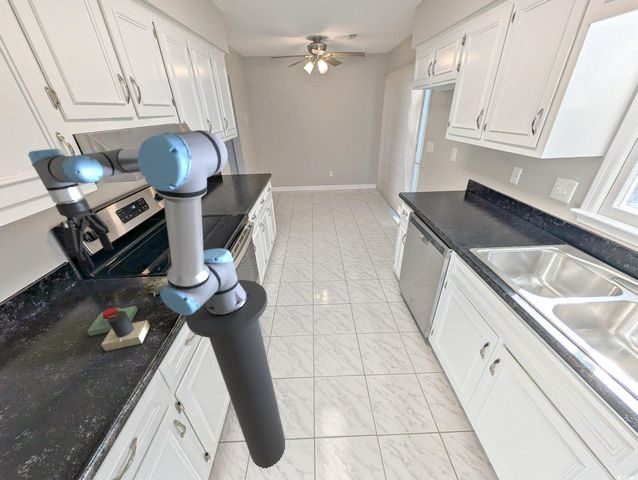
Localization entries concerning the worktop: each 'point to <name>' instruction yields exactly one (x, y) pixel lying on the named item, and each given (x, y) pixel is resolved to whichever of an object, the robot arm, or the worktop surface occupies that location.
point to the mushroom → (157, 285)
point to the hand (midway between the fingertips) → (100, 258)
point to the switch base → (103, 325)
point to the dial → (120, 324)
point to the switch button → (109, 312)
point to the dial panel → (126, 337)
